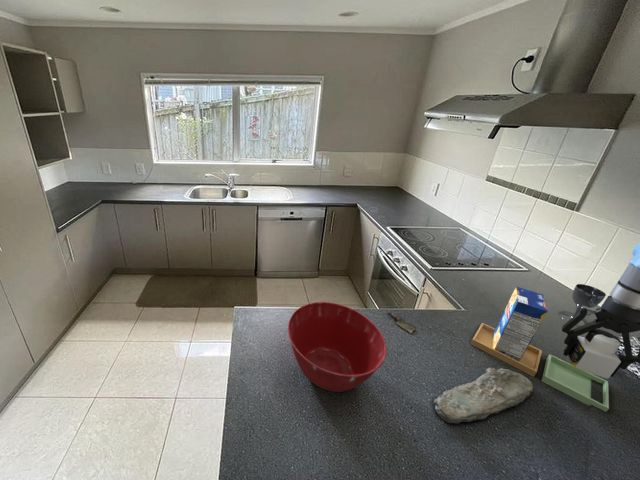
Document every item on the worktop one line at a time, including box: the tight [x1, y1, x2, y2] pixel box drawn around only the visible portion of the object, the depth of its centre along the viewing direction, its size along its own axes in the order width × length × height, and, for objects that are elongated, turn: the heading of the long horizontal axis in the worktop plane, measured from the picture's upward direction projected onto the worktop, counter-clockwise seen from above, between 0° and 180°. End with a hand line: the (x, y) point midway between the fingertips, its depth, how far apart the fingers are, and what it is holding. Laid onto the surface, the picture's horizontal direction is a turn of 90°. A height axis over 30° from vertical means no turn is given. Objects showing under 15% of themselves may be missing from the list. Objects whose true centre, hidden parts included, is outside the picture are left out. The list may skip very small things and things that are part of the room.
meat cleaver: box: [386, 310, 415, 334], centre depth 110 cm, size 12×1×5 cm
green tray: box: [541, 353, 610, 413], centre depth 87 cm, size 13×13×2 cm
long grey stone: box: [433, 367, 534, 424], centre depth 81 cm, size 35×5×10 cm
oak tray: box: [470, 322, 543, 378], centre depth 99 cm, size 17×13×2 cm
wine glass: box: [559, 283, 607, 327], centre depth 112 cm, size 8×8×15 cm
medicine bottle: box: [567, 328, 623, 380], centre depth 82 cm, size 7×7×12 cm
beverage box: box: [493, 286, 548, 361], centre depth 95 cm, size 7×11×22 cm, turn 141°
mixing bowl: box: [287, 301, 387, 393], centre depth 86 cm, size 28×28×16 cm
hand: (587, 363), depth 84 cm, fingers closed on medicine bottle, 8 cm apart
